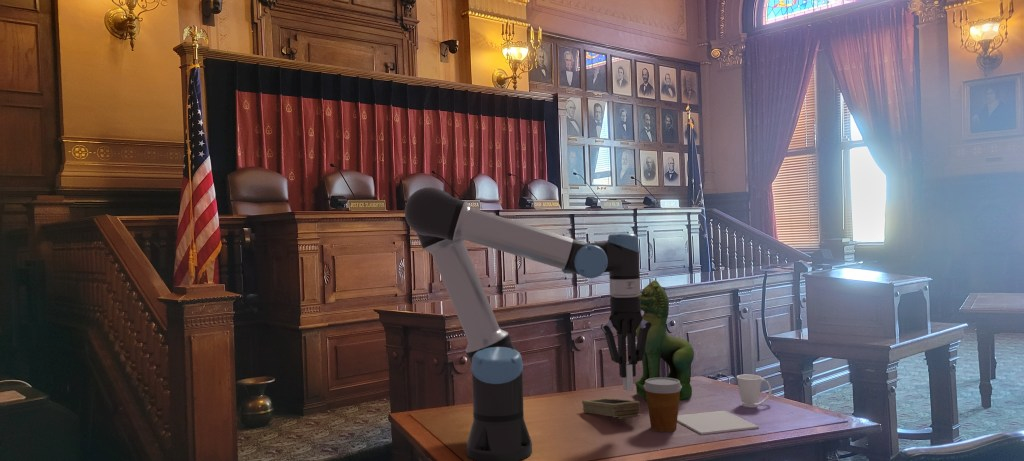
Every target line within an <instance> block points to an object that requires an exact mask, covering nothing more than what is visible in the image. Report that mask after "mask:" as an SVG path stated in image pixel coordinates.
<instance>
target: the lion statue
mask: <svg viewBox="0 0 1024 461" xmlns="http://www.w3.org/2000/svg"><path fill="white" fill-rule="evenodd" d="M638 296H640V298H641V312H643V314H642V317H643V320H645V321H647V322H650V323H651V327H650V329H649V331H648V334H647V339H646V345H645V350H644V355H643V360H642V361H641V363H642V376H641V378H640V379H639V380H636V381H635V382H634V385H635V386H636V389H635V390H636V395H639V396H641V397H642V398H644V399H645V400H646V401H647V397H646V390H645V388H644V385H645V381H646V380H647V379H650V378H661V376H660V375H661V374H660V373H661V372H660V365H661V359H662V360H663V361H664V362H665V363H666V364H667V366H668V368H669V372H668V375H666V376H665V377H664V378H673V379H677V380H679V381H680V384H681V386H682V388H681V391H680V397H679V402H680V401H688V400H690V399H691V398H692V395H693V391H692V390H693V387H692V385H691V378H692V377H691V375H692V374H691V371H692V370H691V369H692V362H693V361H694V358H695V351H694V348H693V346H692V344H691V343H690V342H689V341H688V340H687V339H684V338H681V337H677V336H676V337H673V336H670V335H669V334H668V333H667V322H668V318H669V308H670V307H669V306H670V304H669V303H670V302H669V297H668V294H667V292H666V291H665V289H664V288H663V286H662V285H660V283H659V281H658V280H657V279H654V280H652V281H651V282H649V283H648V284H647V285H646V286H644V288H643V289H642V291H641V293H640V294H638ZM639 330H640V325H639V326H638V328H637V330H636V337H635V338H636V341H637V340H638V335H639Z"/></svg>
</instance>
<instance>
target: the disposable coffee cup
mask: <svg viewBox="0 0 1024 461" xmlns="http://www.w3.org/2000/svg"><path fill="white" fill-rule="evenodd" d="M644 388H645V390H646V397H647V400H646V402H647V409H648V410H647V411H648V416H649V423H650V429H651V430H653V431H655V432H656V431H657V432H661V433H663V432H665V433H668V432H669V433H670V432H674V431H676V430H677V424H678V422H677V417H678V415H679V406H680V401H679V397H680V391H681V388H682V386H681V384H680V381H679V380H677V379H673V378H665V377H660V378H650V379H647V380H646V381H645V385H644Z"/></svg>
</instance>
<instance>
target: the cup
mask: <svg viewBox="0 0 1024 461" xmlns="http://www.w3.org/2000/svg"><path fill="white" fill-rule="evenodd" d="M736 380H737V385H738V390H739V391H738V392H739V393H738V394H739V396H740V399H741V402H742V403H741V406H742V407H746V408H757V407H758V406H760V405H762V404H763V403H765V402H766V401H767V400H768V399H769V398H770V397H771V395H772V391H773V390H772V387H771V386H772V385H771V382H769V381H768V379H765V378H762V376H761V375H757V374H747V373H746V374H744V373H743V374H739V375H736ZM763 382H766V383H767V384H768V385H767V386H768V389H769V391H768V394H767V395H766V396H765V397H764V398H763V399H762V400H761V401H759V399H760V393H761V386H762V383H763Z"/></svg>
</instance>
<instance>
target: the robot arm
mask: <svg viewBox="0 0 1024 461" xmlns="http://www.w3.org/2000/svg"><path fill="white" fill-rule="evenodd" d="M404 217H405V221H406V223H407V225H408V226H409V228H410V229H411V230H412V231H413V232H415V233H416V235H417V238H418V240H419V243H420V244H421V248H422V249H423V251H425V252H428V253H430V254H431V255H432V258H433V260H434V262H435V265H436V267H437V270H438V272H439V275H440V277H441V279H442V281H443V284H444V287H445V289H446V291H447V294H448V296H449V299H450V300H451V301H450V302H451V304H452V306H453V309H454V310H455V313H456V316H457V318H458V321H459V323H460V325H461V328H462V330H463V333H464V335H465V338H466V341H467V345H466V348H465V349H464V350H465V353H466V356H467V359H468V360H469V364H470V370H471V380H472V381H471V382H472V384H471V385H472V414H473V416H472V417H473V419H472V420H473V421H472V423H471V428H470V431H469V435H468V438H467V441H466V456H467V457H468V458H469V459H471V460H473V461H521V460H524V459H527V458H528V457H530V456H531V455H532V453H533V441H532V439H531V435H530V432H529V430H528V427H527V424H526V422H525V417H524V385H523V384H524V383H523V382H524V380H523V371H524V370H523V369H524V362H523V359H522V357H523V356H522V355H521V353H520V352H519V351H518V350H516V347H515V345H514V344H513V343H514V342H513V341H512V339H511V337H510V334H509V332H508V331H506V330H503V329H501V328H500V326H499V324H498V321H497V319H496V316H495V314H494V311H493V308H492V305H491V303H490V301H489V299H488V296H487V293H486V292H485V290H484V289H485V288H484V287H483V285H482V284H483V283H482V282H481V279H480V277H479V275H478V273H477V272H478V271H477V270H476V268H475V265H474V263H473V262H474V261H473V260H472V258H471V255H470V253H469V251H468V248H467V245H466V243H465V241H468V242H470V243H474V244H476V245H477V244H478V245H479V246H484V247H488V248H489V249H490V248H491V249H494V250H498V251H501V252H504V253H507V254H511V255H514V256H517V257H520V258H523V259H528V260H530V261H534V262H537V263H541V264H544V265H547V266H550V267H554V268H557V269H561V272H562V273H563V274H568V275H569V274H572V275H576V274H577V275H580V276H581V277H583V278H588V279H595V278H598V277H600V276H602V275H603V274H605V273H609V294H610V295H611V296H610V298H609V303H610V304H609V306H610V314H609V315H610V316H609V319H608V321H607V322H606V323H604V324H603V323H602V324H601V325H600V329H601V330H602V332H603V333H604V336H605V339H606V343H607V347H608V351H609V355H610V359H611V361H612V362H614V363H615V364H618V368H619V377H620V378H622V384H623V385H622V386H623V387H622V390H624V391H626V392H633V391H634V377H636V374H637V372H636V371H637V370H636V369H637V367H636V365H637V364H638V362H642V360H643V355H644V350H645V345H646V339H647V334H648V331H649V329H650V327H651V323H650V322H647V321H645V320H643V317H642V316H643V314H642V313H641V312H642V310H641V298H640V296H638V294H641V278H640V277H641V276H640V274H641V271H640V246H639V238H638V235H637V234H636V233H616V234H615V233H611V234H609V235H608V237H607V241H605V242H585V241H582V240H578V239H574V238H572V237H570V236H569V237H568V236H565V235H562V234H558V233H556V232H553V231H548V230H545V229H542V228H539V227H535V226H532V225H530V224H529V225H528V224H525V223H522V222H519V221H516V220H513V219H510V218H506V217H502V216H500V215H496V214H493V213H489V212H486V211H483V210H479V209H477V208H473V207H470V205H469V204H468V202H467V201H465V200H462V199H458V198H457V197H453V196H452V195H451V194H449V193H448V192H446V191H445V190H442V189H439V188H436V187H423V188H420V189H417V190H416V191H414V192H413V193H412V194H411V195H410V196H409V198H408V199H407V201H406V203H405V207H404ZM464 240H465V241H464ZM639 325H640V330H639V335H638V340H637V338H636V330H637V328H638V326H639ZM613 328H614V329H615V331H616V336H617V345H616V341H615V336H614V334H613V331H612V330H613Z"/></svg>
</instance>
